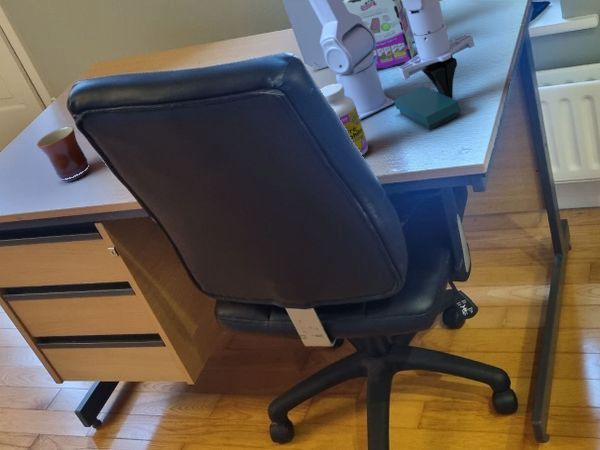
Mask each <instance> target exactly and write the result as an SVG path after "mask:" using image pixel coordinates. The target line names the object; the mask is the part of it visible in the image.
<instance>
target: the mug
mask: <svg viewBox="0 0 600 450" xmlns="http://www.w3.org/2000/svg"><path fill="white" fill-rule="evenodd" d="M75 132H76V131H75V128H74V127H73V126H64V127H60V128H58V129H55V130H53V131H51V132H49V133H47V134H45V135H44V136H43V137H41V138H40V139H39V140H38V141H37V143H36V146H37V147H38V149H40V150H41V152H43V153H44V154H45V155H46V157H47V158H48V160H49V162H50V164H51V166H52V168H53V170H54V171H55V173H56V175H57V176H58V178H59V179H60V178H61V179H60V180H61V181H62V182H64V183H71V182H75V181H77V180H79V179H81V178H83V177H84V176H86V174H87V173H88V172H89V170H90V164H89V161H88V158H87V156H86V154H85V153H84V151H83V150H82V148H81V146H80V145H79V142H78V140H77V136H76V133H75ZM88 165H89V167H88ZM87 167H88V169H87V170H86V171H84V170H85V169H86V168H87ZM82 171H84V172H83V173H82V174H80V175H78V176H76V177H74V178H71V179H68V180H62V179H65V178H69V177H73V176H74V175H76V174H79V173H80V172H82Z"/></svg>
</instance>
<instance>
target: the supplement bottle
mask: <svg viewBox="0 0 600 450" xmlns="http://www.w3.org/2000/svg"><path fill="white" fill-rule="evenodd" d="M319 90H321V92H322V93H323V95H324V96H325V98H326V99H327V101H328V102H329V104H330V105H331V107H332V108H333V109H334V111H335V112H336V114H337V115H338V117H339V118H340V120H341V121H342V123H343V125H344V126H345V128H346V129H347V131H348V133H349V135H350V137H351V139H352V140H353V142H354V143H355V145H356V146H357V147H358V149H359V150H360V152H361V153H362V155H363V156H364V155H365V154H366V153H367V152H368V150H369V144H368V141H367V138H366V135H365V131H364V129H363V126H362V123H361V120H360V119H359V116H358V113H357V110H356V106H355V103H354V101H353V100H352V99H351V98H350V97H347V96H345V95H344V94H345V93H344V92H345V90H344V88H343V85H342V84H337V83H331V84H328V85H325V86H323V87H322V88H320V89H319Z"/></svg>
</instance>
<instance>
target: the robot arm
mask: <svg viewBox="0 0 600 450" xmlns="http://www.w3.org/2000/svg"><path fill="white" fill-rule="evenodd" d="M309 2H310V3H311V5H312V7H313V9H314V11H315V13H316V15H317V17H318V18H319V20H320V22H321V24H322V26H323V30H322V35H321V39H320V44H321V46H322V48H323V51H324V58H325V61H326V63H327V65H328V67H327V68H329V69H330V70H331V71H332V72H334V73H335V80H336V84H342V85H343V88H344V90H345V92H344V93H345V94H344V95H345V96H347V97H350V98H351V99H352V100H353V101H354V103H355V106H356V110H357V113H358V116H359V119H360V121H362V120H363V119H366V118H367V117H370V116H371V115H373V114H375V113H377V112H379V111H381V110H383V109H385V108H387V107H389V106H391V105H393V104H395V102H394V100H395V99H392V98H390V97H388V96H386V95H385V91H384V89H383V86H382V82H381V79H380V76H379V73H378V70H377V69H376V66H375V62H374V59H373V58H374V53H373V50H374V49H375V47H376V38H375V35H374V33H373V32H372V31H371V29H369V28H368V27H367V26H366V25H365V24H364V22H363V21H362V19H361V17H360V16H358V15H355V14H352V13H350V12H348V10H347V8H346V6H345V4H344V2H343V0H309ZM402 2H403V5H404V8H406V11H407V15H408V18H409V22H410V25H411V29H412V33H413V36H414V40H415V42H414V44H415V46H416V51H417V54H416V55H414V58H412V59H411V60H409V61H408V62H407V63H405V64H401V65H399V66H398V67H397V71H398V75H399V78H400V79H402V80H408V79H410V78H411V76H413V75H415V74H417V73H419V72H423V74H424V75H425V76H426V77H427V78H428V79H429V80H430V81H431V82H432V84H433V86H434V87H435V88H436V91H437V92H439V93H441V94H443V95H445V96H448V97H450V98H452V99H454V95H453V93H454V92H453V89H454V78H455V74H456V73H455V72H456V69H457V67H458V60H457V58H456V57H453V55H456V54H458V53H460V52H461V51H464V50H466V49H471V48H473V47H475V46H476V44H475V41H474V36H473V35H471V34H469V33H466V34H463V35H461V36H459V37H456V38H453V39H450V37H449V34H448V30H447V27H446V23H445V19H444V15H443V10H442V6H441V3H440V0H402Z"/></svg>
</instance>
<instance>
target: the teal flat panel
mask: <svg viewBox="0 0 600 450" xmlns="http://www.w3.org/2000/svg"><path fill="white" fill-rule="evenodd" d="M393 100H394V105H395V108H396V109H397V110H398V111H399V114H400V115H401V116H403V117H405V118H407V119H409V120H410V121H412V122H414V123H416V124H418V125H420V126H421V127H423V128H424V129H427V130H428V131H431V130H434V129H436V128H437V127H440V126H441V125H444V124H446V123H447V122H449V121H452V120H453V119H455V118H458V117H459V116H460V115H459V111H460V110H461V108H460V105H459V100H456V99H454V98H450V97H448V96H445V95H443V94H441V93H439V92H438V90H434V89H432V88H430V87H427V85H421V86H420V87H418V88H415V89H414V90H411V91H409V92H408V93H405V94H404V95H402V96H399V97H397V98H396V99H393Z"/></svg>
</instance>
